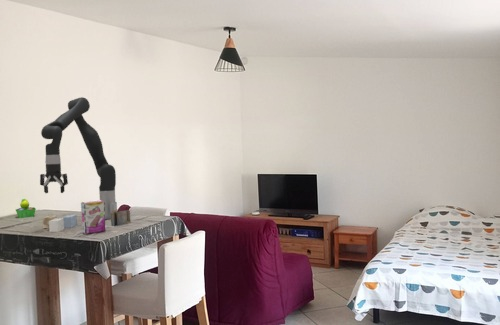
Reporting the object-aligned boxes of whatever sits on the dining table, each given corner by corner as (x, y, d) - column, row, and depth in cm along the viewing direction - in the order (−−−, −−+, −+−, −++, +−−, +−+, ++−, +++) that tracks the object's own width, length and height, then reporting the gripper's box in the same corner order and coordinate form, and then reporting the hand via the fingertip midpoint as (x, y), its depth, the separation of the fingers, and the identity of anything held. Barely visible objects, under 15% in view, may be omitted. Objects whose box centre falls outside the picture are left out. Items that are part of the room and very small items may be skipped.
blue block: (77, 225, 283) (76, 214, 283) (71, 227, 276) (70, 217, 275) (69, 225, 284) (68, 214, 283) (63, 228, 276) (63, 217, 275)
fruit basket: (16, 218, 311) (15, 200, 311) (15, 216, 319) (14, 199, 318) (36, 216, 317) (35, 199, 316) (34, 214, 325) (33, 197, 324)
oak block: (57, 225, 283) (56, 215, 282) (51, 228, 275) (50, 217, 275) (49, 226, 283) (49, 215, 283) (43, 228, 275) (42, 218, 275)
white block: (63, 229, 273) (63, 218, 272) (57, 232, 265) (57, 220, 264) (55, 229, 273) (55, 218, 272) (49, 232, 265) (48, 221, 264)
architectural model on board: (114, 227, 276) (113, 209, 276) (111, 226, 278) (110, 209, 278) (131, 223, 285) (130, 207, 285) (127, 223, 287) (127, 206, 286)
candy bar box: (85, 234, 255) (84, 203, 254) (81, 233, 259) (80, 202, 258) (106, 231, 263) (104, 200, 262) (102, 230, 266) (100, 199, 265)
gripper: (68, 162, 270) (70, 192, 271) (43, 162, 271) (44, 192, 272) (63, 163, 262) (64, 193, 263) (36, 163, 263) (38, 194, 264)
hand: (54, 193), depth 268 cm, fingers open, 8 cm apart
